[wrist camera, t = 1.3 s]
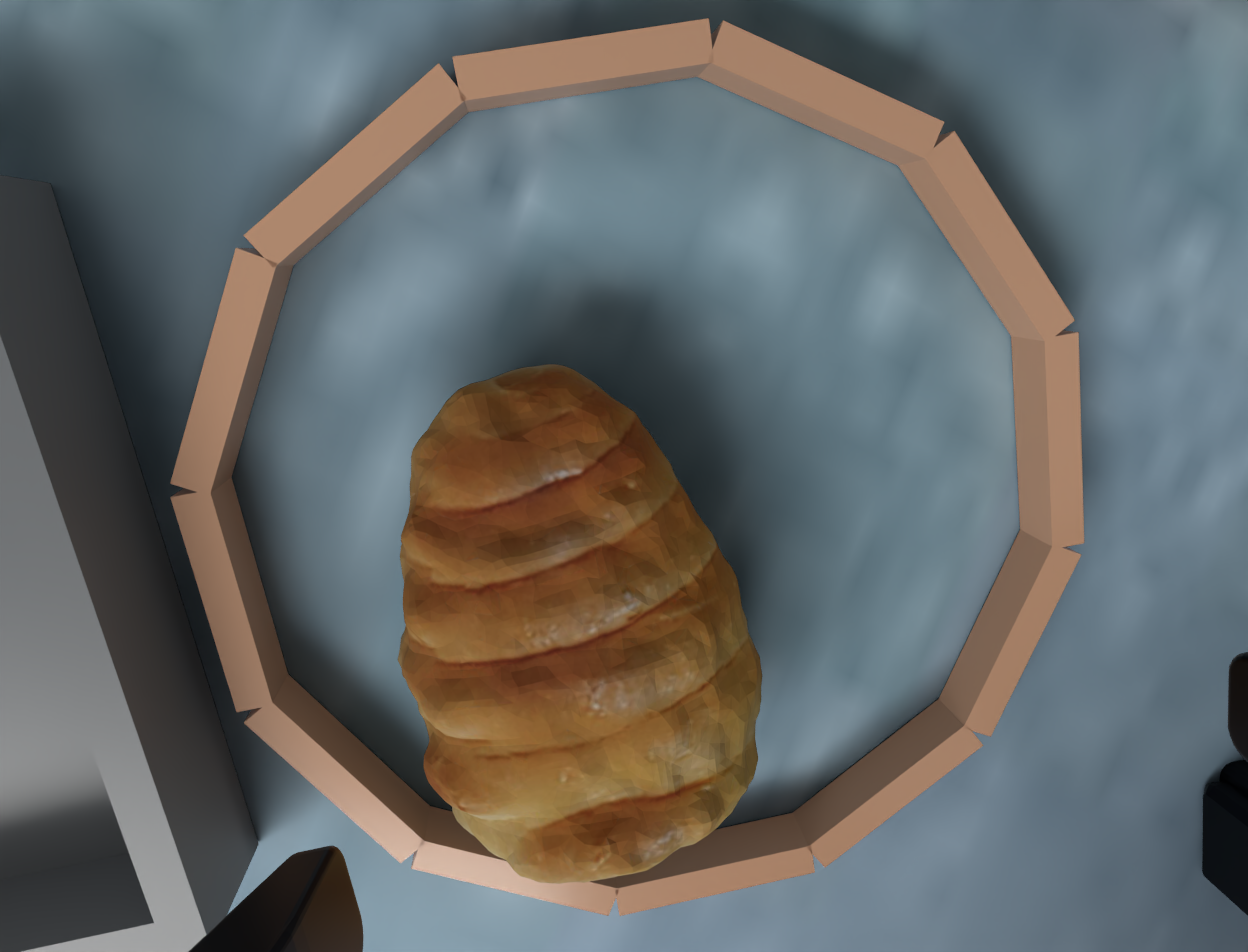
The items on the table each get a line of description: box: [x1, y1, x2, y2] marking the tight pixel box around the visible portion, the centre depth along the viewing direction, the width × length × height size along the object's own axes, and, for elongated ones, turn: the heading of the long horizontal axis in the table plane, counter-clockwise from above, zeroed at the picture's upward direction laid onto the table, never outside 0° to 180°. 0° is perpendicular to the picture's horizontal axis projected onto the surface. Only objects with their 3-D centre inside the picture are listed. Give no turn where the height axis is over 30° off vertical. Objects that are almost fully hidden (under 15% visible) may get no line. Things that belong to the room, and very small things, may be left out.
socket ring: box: [170, 18, 1084, 916], centre depth 18 cm, size 17×17×1 cm
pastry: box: [398, 364, 762, 884], centre depth 16 cm, size 9×7×4 cm
